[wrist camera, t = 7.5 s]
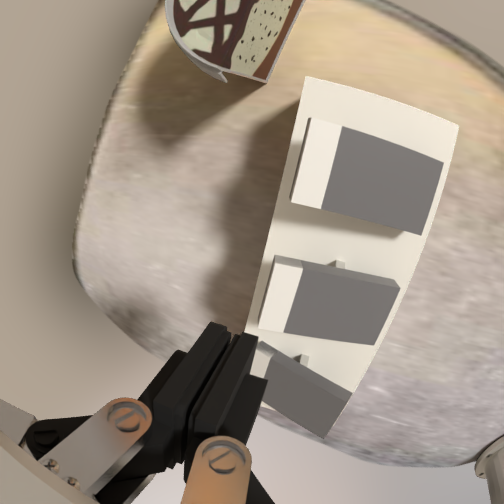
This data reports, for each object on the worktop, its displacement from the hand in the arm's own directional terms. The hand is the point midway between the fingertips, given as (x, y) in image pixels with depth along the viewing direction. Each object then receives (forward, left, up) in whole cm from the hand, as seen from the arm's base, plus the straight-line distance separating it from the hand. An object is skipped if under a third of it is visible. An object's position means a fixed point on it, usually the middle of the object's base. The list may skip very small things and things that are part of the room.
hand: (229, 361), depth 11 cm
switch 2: (-4, +2, -10) cm, 10 cm away
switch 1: (-4, -6, -10) cm, 12 cm away
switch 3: (-4, +10, -10) cm, 14 cm away
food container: (+7, -16, -18) cm, 25 cm away
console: (-4, +2, -18) cm, 18 cm away
